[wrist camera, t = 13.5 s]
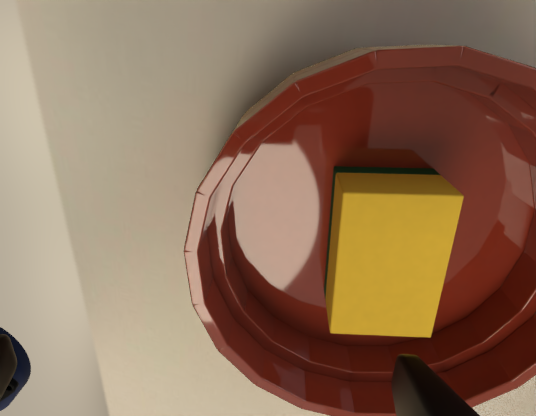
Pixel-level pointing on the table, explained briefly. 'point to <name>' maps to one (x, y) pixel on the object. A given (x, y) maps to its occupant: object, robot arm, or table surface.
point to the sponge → (388, 249)
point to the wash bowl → (318, 214)
